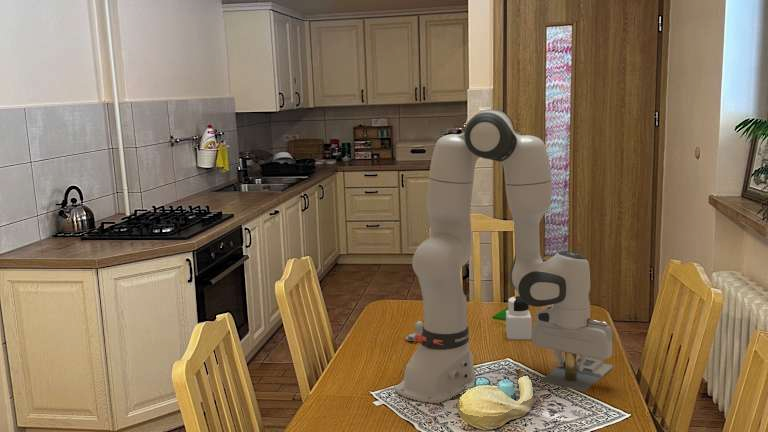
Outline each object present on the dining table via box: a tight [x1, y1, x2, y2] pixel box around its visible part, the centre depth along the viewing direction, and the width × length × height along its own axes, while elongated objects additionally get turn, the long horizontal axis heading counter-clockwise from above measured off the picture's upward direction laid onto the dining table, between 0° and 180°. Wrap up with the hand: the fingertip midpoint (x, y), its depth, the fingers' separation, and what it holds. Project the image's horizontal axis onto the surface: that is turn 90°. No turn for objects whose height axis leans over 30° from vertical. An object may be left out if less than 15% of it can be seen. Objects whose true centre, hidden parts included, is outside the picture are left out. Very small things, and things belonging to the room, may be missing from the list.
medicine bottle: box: [505, 295, 533, 341], centre depth 216 cm, size 7×7×12 cm
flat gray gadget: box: [556, 355, 613, 378], centre depth 186 cm, size 7×12×2 cm, turn 52°
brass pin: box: [564, 352, 577, 381], centre depth 179 cm, size 3×3×8 cm
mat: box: [539, 362, 616, 393], centre depth 183 cm, size 20×12×2 cm, turn 142°
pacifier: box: [405, 320, 424, 342], centre depth 217 cm, size 7×6×6 cm
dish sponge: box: [491, 307, 531, 326], centre depth 234 cm, size 7×14×2 cm, turn 144°
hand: (570, 368), depth 179 cm, fingers closed on brass pin, 3 cm apart
